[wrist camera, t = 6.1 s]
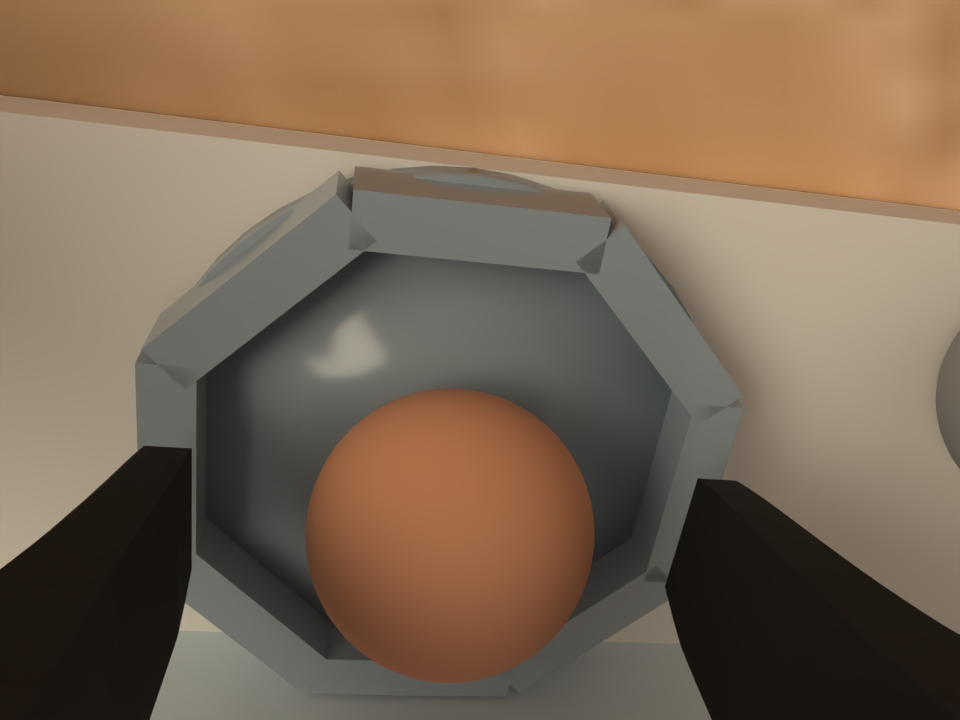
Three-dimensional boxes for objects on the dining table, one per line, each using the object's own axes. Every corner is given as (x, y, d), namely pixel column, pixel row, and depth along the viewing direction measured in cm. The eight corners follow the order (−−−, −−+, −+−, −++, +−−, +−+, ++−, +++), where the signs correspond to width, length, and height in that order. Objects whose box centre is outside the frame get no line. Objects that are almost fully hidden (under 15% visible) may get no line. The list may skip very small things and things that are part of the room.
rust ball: (541, 556, 15) (594, 750, 12) (308, 549, 14) (288, 752, 11) (582, 350, 13) (660, 503, 10) (320, 332, 13) (301, 489, 9)
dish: (633, 642, 17) (655, 702, 16) (158, 630, 16) (138, 696, 14) (763, 201, 13) (807, 232, 12) (147, 129, 12) (119, 155, 10)
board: (849, 872, 23) (868, 909, 22) (-81, 893, 19) (-103, 939, 19) (1179, 237, 16) (1228, 256, 15) (-262, 62, 12) (-313, 75, 11)
